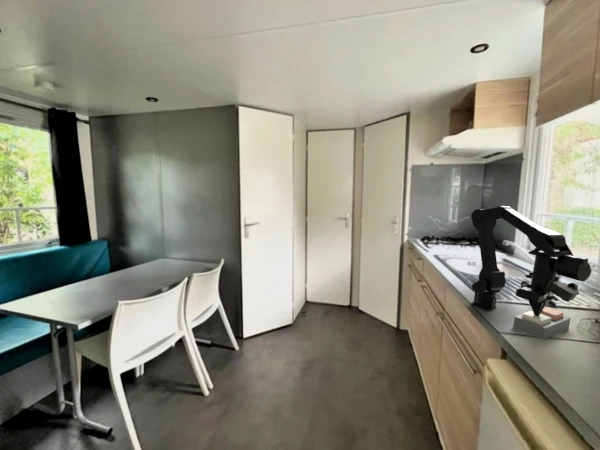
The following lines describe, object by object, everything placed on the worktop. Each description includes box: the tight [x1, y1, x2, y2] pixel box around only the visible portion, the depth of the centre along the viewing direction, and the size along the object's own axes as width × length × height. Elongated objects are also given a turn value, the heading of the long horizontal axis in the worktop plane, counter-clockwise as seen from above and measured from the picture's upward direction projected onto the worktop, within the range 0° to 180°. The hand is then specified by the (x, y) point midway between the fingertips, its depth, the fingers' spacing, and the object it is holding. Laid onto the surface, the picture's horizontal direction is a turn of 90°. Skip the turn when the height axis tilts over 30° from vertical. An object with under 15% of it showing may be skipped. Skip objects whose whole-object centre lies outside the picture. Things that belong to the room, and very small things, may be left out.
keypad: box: [512, 309, 571, 341], centre depth 96 cm, size 9×17×4 cm, turn 117°
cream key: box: [522, 310, 551, 326], centre depth 94 cm, size 6×6×4 cm
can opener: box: [520, 280, 559, 307], centre depth 124 cm, size 18×7×6 cm, turn 179°
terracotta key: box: [541, 306, 565, 321], centre depth 98 cm, size 6×6×4 cm
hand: (536, 315), depth 94 cm, fingers closed, pressing on cream key
